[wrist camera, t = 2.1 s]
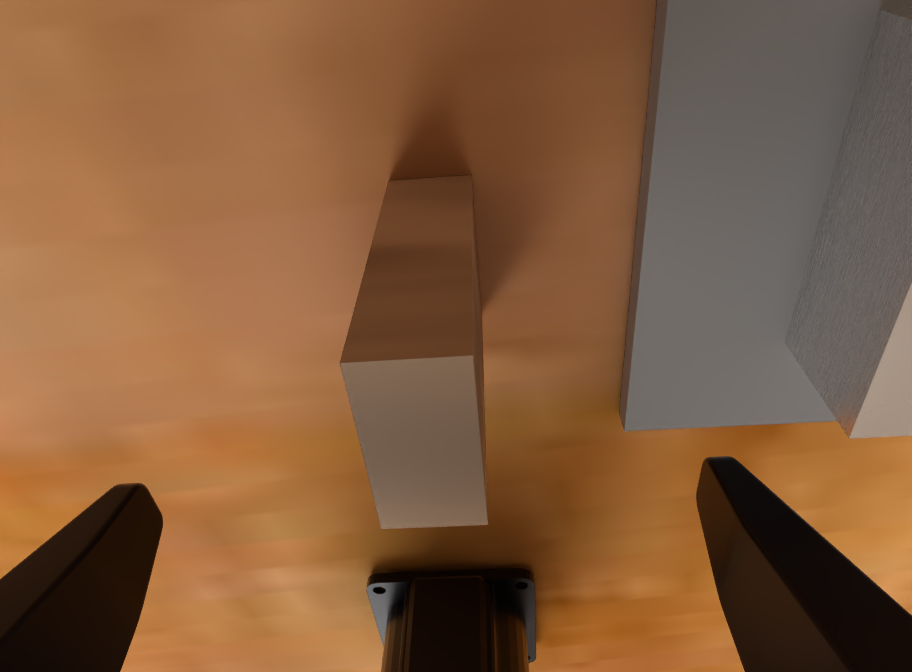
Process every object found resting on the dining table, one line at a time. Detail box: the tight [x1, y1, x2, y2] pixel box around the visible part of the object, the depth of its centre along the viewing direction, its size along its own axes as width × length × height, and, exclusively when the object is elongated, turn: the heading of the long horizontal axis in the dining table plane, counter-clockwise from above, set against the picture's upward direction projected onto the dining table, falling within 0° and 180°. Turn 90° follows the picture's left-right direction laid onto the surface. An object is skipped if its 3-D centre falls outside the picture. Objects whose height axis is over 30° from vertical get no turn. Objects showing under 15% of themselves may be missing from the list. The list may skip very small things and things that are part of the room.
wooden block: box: [340, 175, 488, 529], centre depth 13 cm, size 4×2×7 cm, turn 5°
